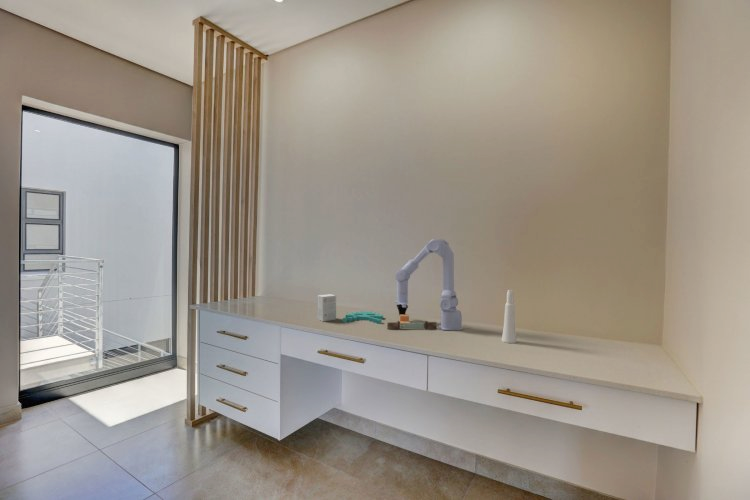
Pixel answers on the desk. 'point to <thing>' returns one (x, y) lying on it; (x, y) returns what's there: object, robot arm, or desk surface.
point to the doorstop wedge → (404, 319)
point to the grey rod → (412, 325)
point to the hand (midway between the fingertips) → (401, 318)
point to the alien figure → (363, 317)
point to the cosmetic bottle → (509, 320)
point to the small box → (326, 307)
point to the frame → (397, 325)
